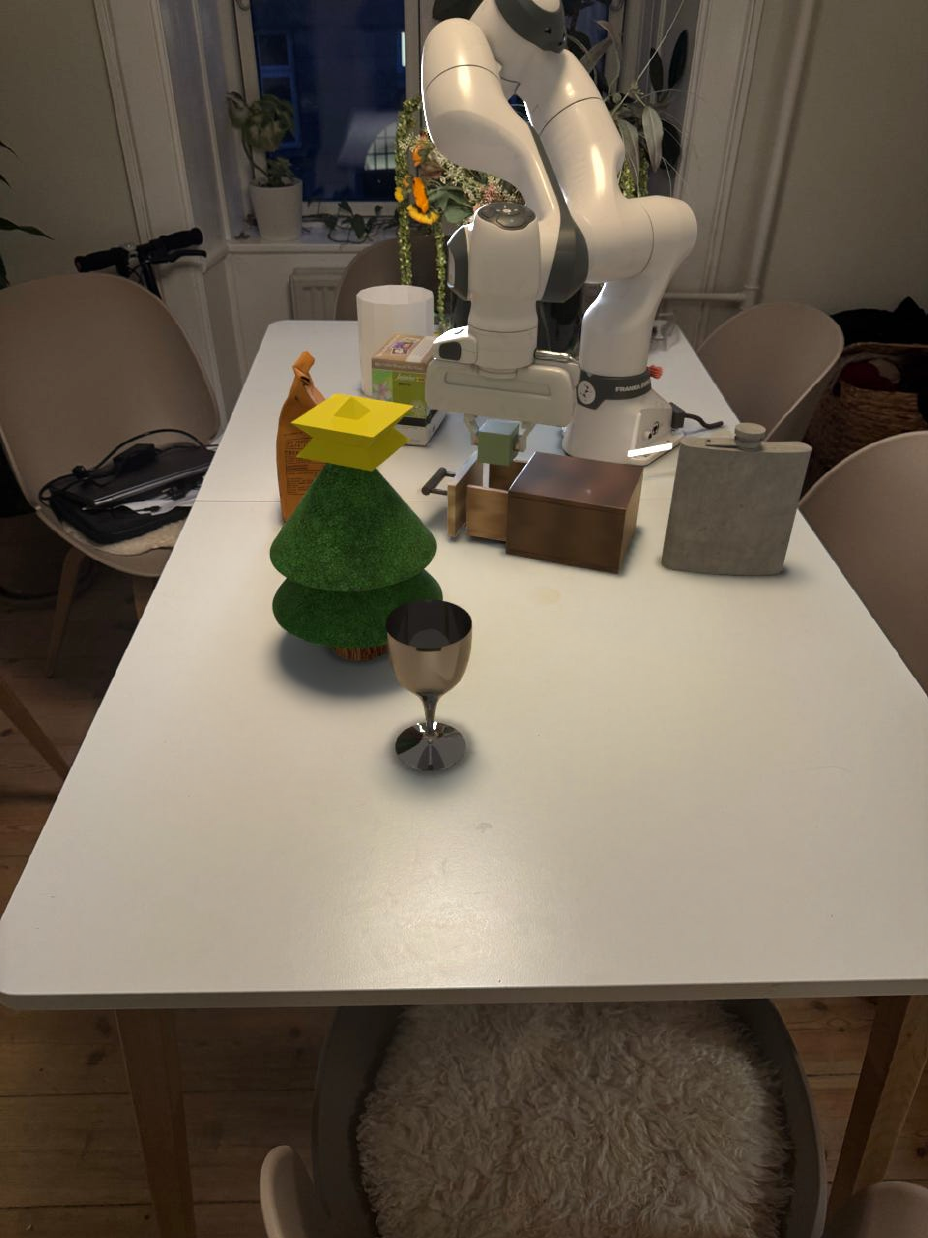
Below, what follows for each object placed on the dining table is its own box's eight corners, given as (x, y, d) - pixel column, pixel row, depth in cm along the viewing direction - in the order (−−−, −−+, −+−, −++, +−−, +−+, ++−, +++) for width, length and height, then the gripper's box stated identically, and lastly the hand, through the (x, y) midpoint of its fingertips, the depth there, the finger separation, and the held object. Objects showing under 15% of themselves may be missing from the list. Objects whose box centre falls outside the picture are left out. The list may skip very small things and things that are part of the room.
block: (487, 449, 123) (488, 419, 120) (518, 454, 122) (519, 423, 119) (477, 462, 119) (477, 430, 117) (509, 466, 118) (510, 435, 116)
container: (371, 374, 181) (367, 283, 171) (440, 378, 180) (440, 286, 169) (354, 398, 169) (349, 302, 159) (428, 403, 168) (427, 306, 158)
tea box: (428, 447, 150) (427, 361, 142) (372, 442, 152) (367, 356, 144) (447, 415, 163) (447, 334, 154) (395, 410, 164) (392, 330, 156)
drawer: (414, 529, 124) (413, 479, 120) (444, 493, 134) (444, 445, 129) (547, 553, 119) (551, 501, 114) (569, 513, 129) (573, 464, 124)
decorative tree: (330, 585, 113) (309, 353, 96) (468, 618, 107) (472, 377, 90) (245, 668, 98) (203, 412, 82) (399, 712, 93) (388, 445, 76)
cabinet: (505, 553, 120) (508, 490, 115) (531, 511, 131) (535, 450, 126) (618, 574, 116) (626, 509, 111) (635, 528, 127) (644, 466, 122)
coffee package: (351, 488, 137) (341, 346, 124) (345, 526, 127) (334, 376, 114) (287, 488, 136) (271, 346, 124) (275, 526, 126) (257, 376, 114)
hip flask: (778, 563, 119) (813, 422, 108) (785, 578, 116) (821, 435, 104) (660, 556, 120) (682, 416, 109) (662, 571, 117) (685, 429, 106)
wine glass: (390, 721, 91) (384, 600, 83) (466, 718, 92) (468, 597, 83) (391, 775, 85) (385, 650, 76) (473, 771, 85) (476, 646, 77)
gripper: (587, 347, 112) (578, 448, 120) (436, 330, 117) (437, 428, 125) (576, 362, 107) (567, 467, 115) (419, 343, 112) (421, 445, 120)
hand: (498, 446), depth 120 cm, fingers closed on block, 4 cm apart
